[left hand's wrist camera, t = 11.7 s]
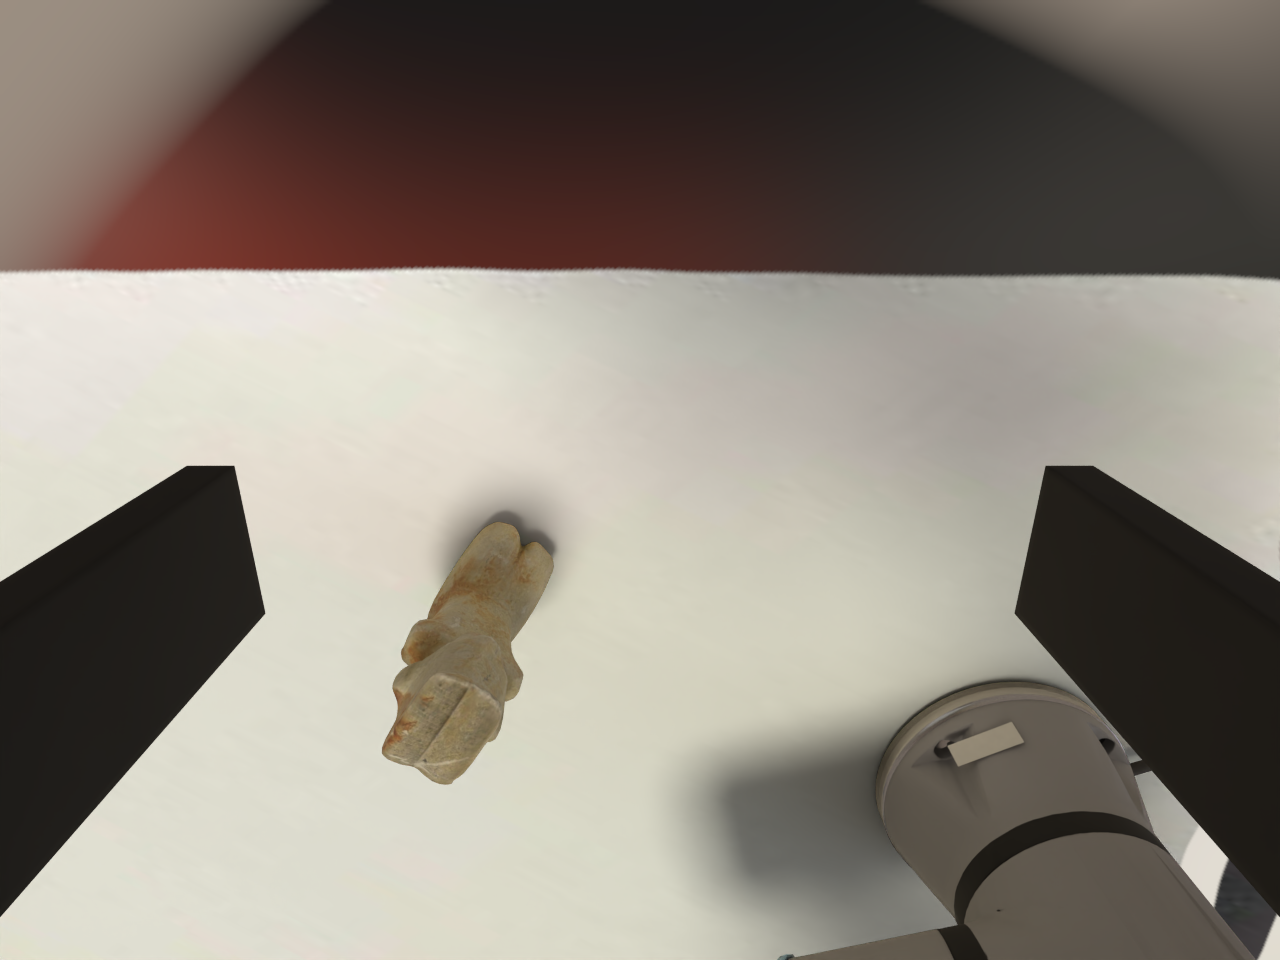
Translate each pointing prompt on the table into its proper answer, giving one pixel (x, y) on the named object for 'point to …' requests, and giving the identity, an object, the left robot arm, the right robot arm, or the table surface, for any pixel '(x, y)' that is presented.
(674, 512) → the table surface
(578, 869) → the table surface
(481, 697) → the sculpture
